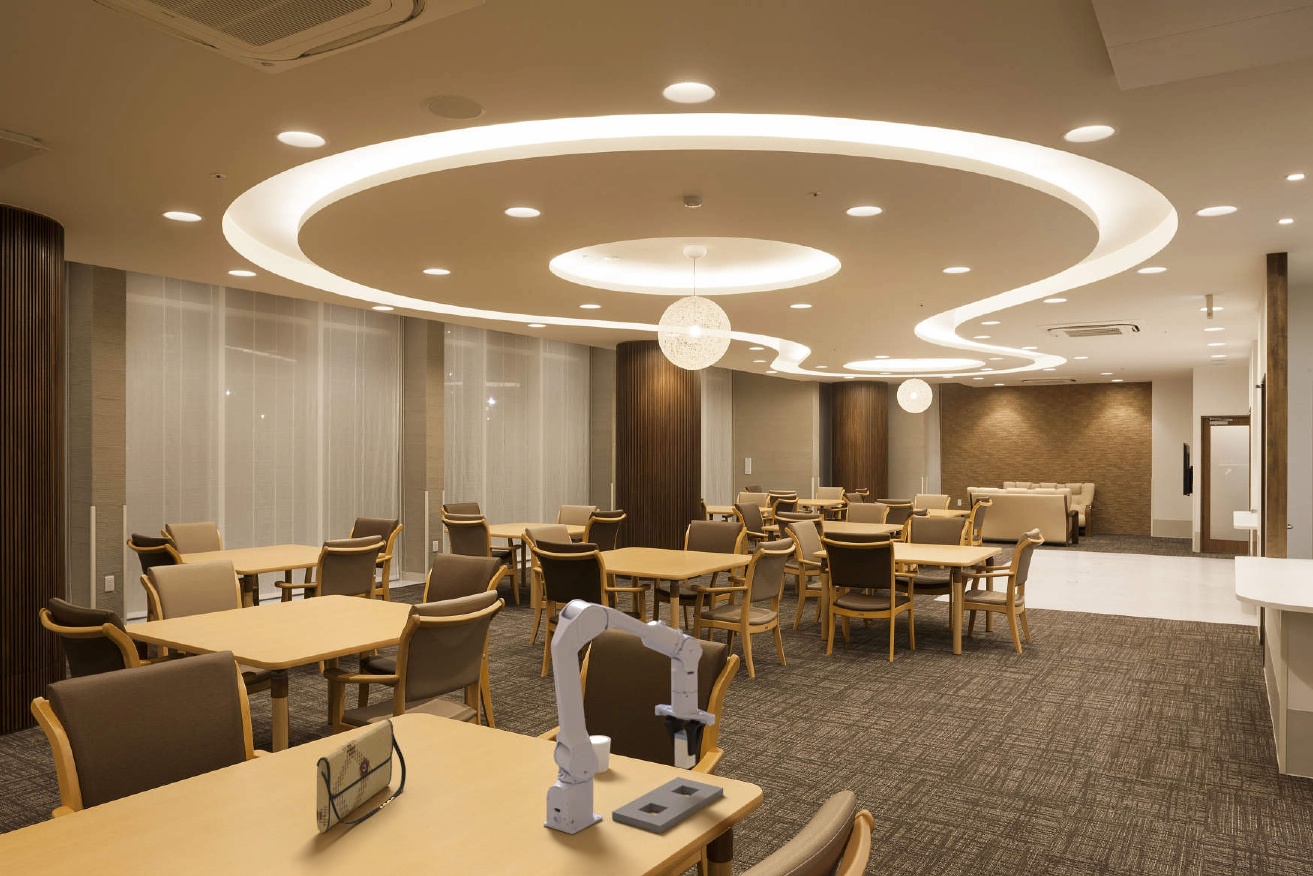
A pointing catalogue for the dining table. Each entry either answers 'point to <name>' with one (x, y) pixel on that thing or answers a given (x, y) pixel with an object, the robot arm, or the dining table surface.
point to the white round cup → (601, 751)
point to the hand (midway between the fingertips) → (684, 753)
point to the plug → (682, 751)
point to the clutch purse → (356, 774)
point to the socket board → (667, 804)
